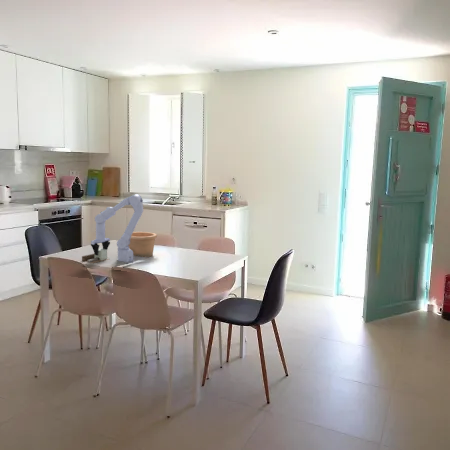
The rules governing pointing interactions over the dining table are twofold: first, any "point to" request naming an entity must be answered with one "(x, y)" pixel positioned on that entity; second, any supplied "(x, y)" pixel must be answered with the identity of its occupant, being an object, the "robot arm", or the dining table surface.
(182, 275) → the dining table surface
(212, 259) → the dining table surface
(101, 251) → the sage block
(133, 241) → the pottery
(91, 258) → the cleat board
